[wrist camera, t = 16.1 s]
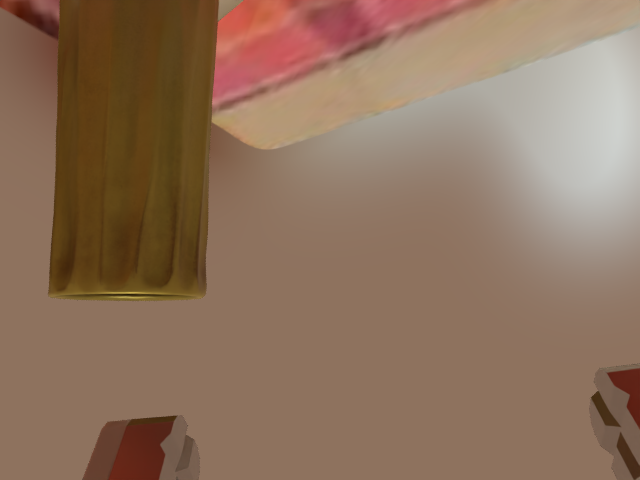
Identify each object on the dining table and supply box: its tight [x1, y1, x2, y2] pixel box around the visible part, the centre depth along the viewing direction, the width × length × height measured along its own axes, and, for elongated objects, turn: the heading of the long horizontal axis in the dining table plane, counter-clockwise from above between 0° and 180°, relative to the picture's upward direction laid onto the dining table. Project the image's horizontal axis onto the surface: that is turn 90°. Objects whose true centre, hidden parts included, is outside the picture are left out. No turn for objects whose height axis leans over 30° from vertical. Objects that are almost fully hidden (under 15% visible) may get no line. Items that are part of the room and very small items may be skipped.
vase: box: [48, 0, 219, 301], centre depth 20 cm, size 6×6×14 cm
